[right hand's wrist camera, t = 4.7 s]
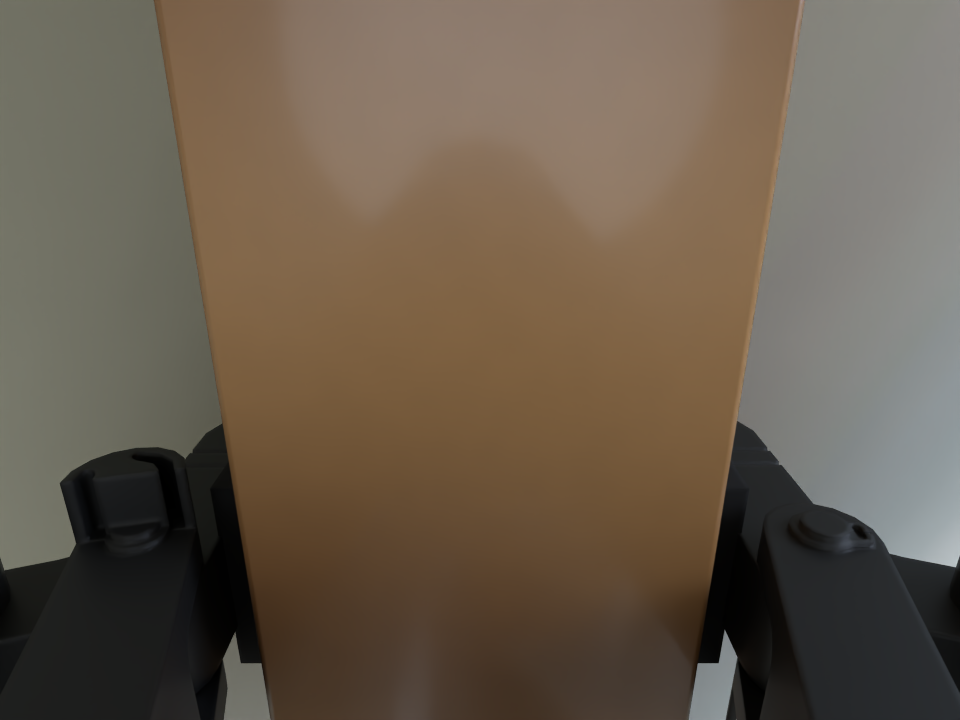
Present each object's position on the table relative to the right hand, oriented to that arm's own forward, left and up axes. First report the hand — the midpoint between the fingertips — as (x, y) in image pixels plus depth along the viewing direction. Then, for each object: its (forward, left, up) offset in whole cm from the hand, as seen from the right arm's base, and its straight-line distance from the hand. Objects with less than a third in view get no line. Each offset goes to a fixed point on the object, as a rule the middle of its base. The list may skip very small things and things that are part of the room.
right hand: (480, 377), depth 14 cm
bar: (+24, +5, -1) cm, 25 cm away
